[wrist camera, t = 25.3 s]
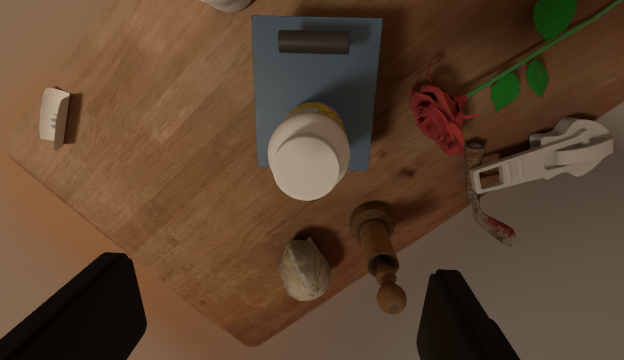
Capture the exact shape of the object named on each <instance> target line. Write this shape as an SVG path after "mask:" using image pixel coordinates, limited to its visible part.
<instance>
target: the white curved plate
mask: <svg viewBox="0 0 624 360" xmlns="http://www.w3.org/2000/svg"><path fill="white" fill-rule="evenodd" d="M69 97H70V94H69V93H67V92H65V91H61V90H58V89H54V88H46V89H45V91H44V94H43V98H42V104H41V112H40V123H39V134H40V138H41V139H44V140H51V141H54V150H55V151H57V150H59V149H60V148H61V147H62V146H63V141H64V134H65V126H66V119H67V111H68V104H69Z"/></svg>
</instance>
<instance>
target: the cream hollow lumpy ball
mask: <svg viewBox="0 0 624 360" xmlns="http://www.w3.org/2000/svg"><path fill="white" fill-rule="evenodd" d="M278 272H279V275H280V277H281V279H282V281H283V286H284V288H285V289H286V291H287V294H288V295H289V296H291V297H293V298H294V299H297V300H299V301H309V300H313V299H316V298H318V297H319V296H321V295H322V294H324V293H325V292H326V290H327V288H328V285H329V282H330V279H331V270H330V267H329V265H328V262H327V260H326V259H325V257H324V256H323V255H322V254H321V252H320V250H319V249H318V248H317V246H316V245H315V244H314V242H313V241H312V238H311V237H309V238H308V239H307V240H305V241H304V240H292V241H290V242H289V243H288V245H287V246H286V249H285V251H284V255H283V257H282V259H281V262H280V265H279V269H278Z"/></svg>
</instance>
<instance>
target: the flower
mask: <svg viewBox="0 0 624 360" xmlns="http://www.w3.org/2000/svg"><path fill="white" fill-rule="evenodd" d="M621 1H623V0H616V1H615V2H613V3H612V4H611V5H609V6H608V7H606V8H605V9H604V10H602V11H601V12H600V13H598V14H597V15H595V16H594V17H593V18H592V19H590V20H588V21H586V22H584V23H582V24H580V25H579V26H577V27H575V28H573V29H571V30H569V31H568V32H566V33H565V34H563V35H561V36H560V37H558V38H556V39H555V40H553V41H552V42H550V43H548V41H549V40H551V39H553V38H554V37H556V36H557V35H559V34H560V33H562V32H563V31H564V30H565V29H566V28H567V26H568V25H569V23H570V22H571V20H572V19H573V17H574V16H575V14H576V9H577V0H538V1H537V2H536V4H535V6H534V10H533V14H532V17H533V20H534V24H535V28H536V31H537V32H538V33H539V34H540V35H541V36H542V37H543V38H544V39H545V40H546V45H545V46H544V47H542V48H540V49H539V50H537V51H535V52H534V53H532V54H531V55H529V56H527V57H526V58H524V59H522V60H521V61H519V62H518V63H516V64H514V65H513V66H511V67H510V68H508V69H506V70H505V71H503V72H501V73H500V74H498V75H497V76H495V77H493V78H492V79H490V80H488V81H487V82H485V83H484V84H482V85H480V86H479V87H477V88H476V89H474V90H472V91H470V92H468V93H466V94H463V95H459V96H456V97H452V96H451V95H450V94H449V93H448V92H446V91H445V90H444V89H442V88H440V87H438V86H436V85H435V84H434V83H433V82H432V81H431V79H430V77H429V69H430V65H431V63H430V65H429V67H428V72H427V77H428V80H429V81H430V82H431V83H432V84H433V85H435V86H436V87H435V86H430V85H424V86H423V87H422V88H421V89H420V93H419V92H416V91H415V92H413V90H412V88H411V91H410V97H409V98H410V102H411V104H409V105H408V106H409V107H410V108H411V109H412V111H413V114H414V117H415V119H416V122H417V123H415V124H416V125H417V126H419V127H420V130H421V131H422V132H423V134H424V135H426V136H428V137H429V138H431V139H433V140H434V141H435V142H437V143H438V144H440V145H441V149H442V150H443V151H444V152H445V153H447V154H448V155H452V154H454V153H458V154H461V153H463V154H465V153H464V152H463V149H464V146H465V142H464V138H463V133H462V124H463V121H464V119H469V118H472V117H475V116H477V115H479V114H475V115H468V116H467V115H464V113H463V110H462V109H461V107H462V106H463V105H464V104H465V103H466V101H467V100H468V99H469V98H470V97H472V96H474V95H475V94H477V93H478V92H480V91H481V90H483V89H484V88H486V87H487V86H489V85H490V84H492V83H494V82H495V81H497V80H498V79H499V80H498V81H497V82H496V83H495V85H494V86H493V87H492V89H491V93H490V98H491V101H492V103H493V105H494V107H495V109H496V113H497V112H498V110H500V109H501V108H503V107H505V106H506V105H508V104H510V103H511V102H512V101H514V100H515V99H516V98H517V97H518V95H519V93H520V80H519V78H518V77H517V75H516V74H515V73H514V71H515V70H514V69H516V68H518V67H519V66H521V65H522V64H524V63H526V62H527V61H529V60H530V59H532V58H534V57H535V59H534V60H533V61H532V62H531V63H530V64H529V66H528V70H527V74H526V80H527V83H528V85H529V86H530V88H531V89H532V90H533V91H534V92H535V93H536V94H537V95H538V96H540V97H541V98H542V99H543V93H544V91H545V90H546V88H547V86H548V83H549V75H548V73H547V71H546V69H545V67H544V66H543V65H542V64H541V63H540V62H539V61H538V60H537V59H536V56H537V55H538V54H540V53H542V52H543V51H545V50H546V49H548V48H550V47H551V46H553V45H554V44H556V43H558V42H559V41H561V40H562V39H564V38H566V37H567V36H569V35H570V34H572V33H574V32H576V31H577V30H579V29H581V28H583V27H585V26H587V25H588V24H590V23H592V22H594V21H596V20H597V19H598V18H600V17H601V16H602V15H604V14H605V13H606V12H608V11H609V10H610V9H612V8H613V7H614V6H616V5H617V4H618V3H620V2H621ZM431 62H432V61H431ZM513 70H514V71H513ZM511 71H513V72H511ZM510 72H511V73H510ZM508 73H509V74H508ZM506 74H507V75H506ZM439 88H440V89H441V90H440V89H439ZM465 155H467V154H465ZM468 156H469V155H468ZM471 157H472V156H471Z"/></svg>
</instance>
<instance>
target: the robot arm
mask: <svg viewBox="0 0 624 360" xmlns="http://www.w3.org/2000/svg"><path fill="white" fill-rule="evenodd" d="M146 327H147V321H146V316H145V312H144V308H143V303H142V299H141V295H140V291H139V287H138V282H137V278H136V274H135V270H134V265H133V261H132V260H131V259H130V258H128V256H127V255H126V254H124V253H110V252H106V253H103V254H101V255H100V256H99V257H98V258H96V259H95V260H94V261H93V262H92V263H90V264H89V265H88V266H87V267H86V268H84V269H83V270H82V271H81V272H80V273H79V274H77V275H76V276H75V277H74V278H73V279H71V280H70V281H69V282H68V283H67V284H66V285H64V286H63V287H62V288H61V289H60V290H58V291H57V292H56V293H55V294H54V295H53V296H51V297H50V298H49V299H48V300H47V301H45V302H44V303H43V304H42V305H41V306H39V307H38V308H37V309H36V310H35V311H34V312H32V313H31V314H30V315H29V316H28V317H26V318H25V319H24V320H23V321H22V322H21V323H19V324H18V325H17V326H16V327H15V328H13V329H12V330H11V331H10V332H9V333H7V334H6V335H5V336H4V337H3V338H1V339H0V360H127V358H128V357H129V355H130V354H131V352H132V351H133V349H134V348H135V346H136V345H137V343H138V342H139V341H140V339H141V337H142V336H143V335H144V333H145V330H146ZM417 349H418V353H419V356H420V359H421V360H520V359H519V357H518V356H517V354H516V352H515V351H514V349H513V348H512V346H511V345H510V343H509V342H508V340H507V339H506V337H505V336H504V334H503V333H502V331H501V330H500V328H499V326H498V325H497V324H496V323H495V321H493V320H492V319H490V318H489V317H488V316H487V314H486V312H485V311H484V309H483V308H482V306H481V305H480V303H479V301H478V300H477V298H476V297H475V295H474V294H473V292H472V290H471V289H470V287H469V286H468V284H467V283H466V281H465V279H464V278H463V276H462V275H461V273H460V272H459V271H457V270H443V269H438V270H437V271H436V274H431V275H430V278H429V282H428V287H427V292H426V296H425V301H424V306H423V311H422V315H421V320H420V325H419V330H418V335H417Z"/></svg>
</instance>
